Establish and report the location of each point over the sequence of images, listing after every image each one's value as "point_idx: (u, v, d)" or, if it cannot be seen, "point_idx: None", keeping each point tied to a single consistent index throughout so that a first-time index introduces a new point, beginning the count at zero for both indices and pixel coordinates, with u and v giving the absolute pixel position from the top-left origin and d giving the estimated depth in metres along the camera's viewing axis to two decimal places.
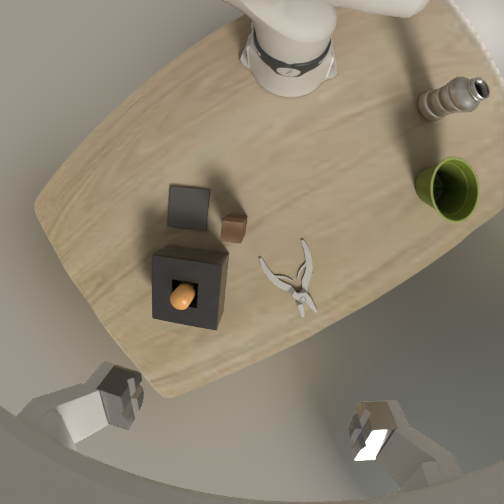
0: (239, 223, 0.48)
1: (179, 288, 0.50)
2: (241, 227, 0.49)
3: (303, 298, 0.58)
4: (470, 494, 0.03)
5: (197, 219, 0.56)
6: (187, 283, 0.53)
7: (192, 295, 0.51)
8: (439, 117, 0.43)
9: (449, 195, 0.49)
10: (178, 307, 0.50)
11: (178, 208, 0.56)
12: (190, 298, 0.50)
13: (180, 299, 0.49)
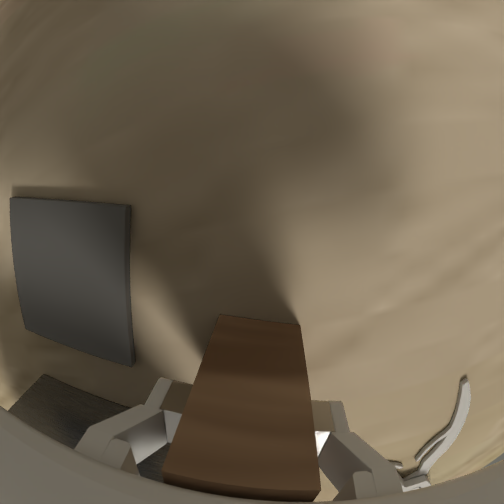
0: (292, 492, 0.05)
1: None
2: None
3: (415, 489, 0.14)
4: (470, 494, 0.03)
5: (96, 325, 0.13)
6: None
7: None
8: None
9: None
10: None
11: (36, 276, 0.12)
12: None
13: None
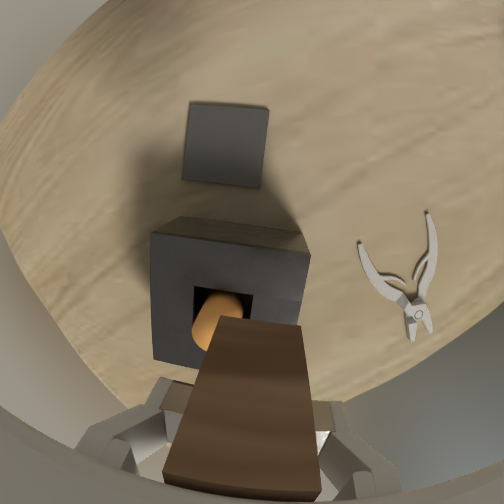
0: (293, 493, 0.05)
1: (212, 307, 0.22)
2: None
3: (419, 313, 0.30)
4: (470, 494, 0.03)
5: (243, 165, 0.28)
6: (227, 294, 0.25)
7: None
8: None
9: None
10: None
11: (205, 144, 0.28)
12: None
13: None
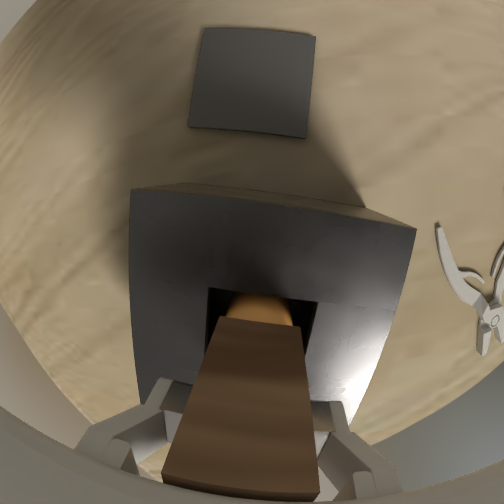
0: (292, 494, 0.05)
1: (251, 305, 0.13)
2: None
3: (496, 318, 0.19)
4: (470, 494, 0.03)
5: (281, 105, 0.18)
6: None
7: None
8: None
9: None
10: None
11: (225, 76, 0.17)
12: None
13: None
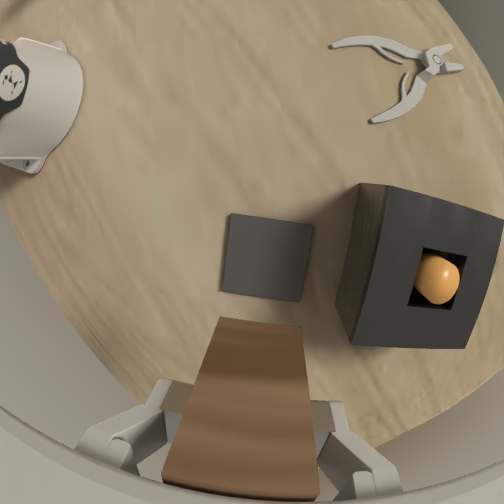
0: (292, 495, 0.05)
1: (419, 281, 0.21)
2: None
3: (435, 58, 0.21)
4: (470, 494, 0.03)
5: (289, 241, 0.28)
6: None
7: (433, 255, 0.21)
8: None
9: None
10: (454, 287, 0.20)
11: (264, 277, 0.29)
12: (440, 259, 0.20)
13: (441, 281, 0.20)
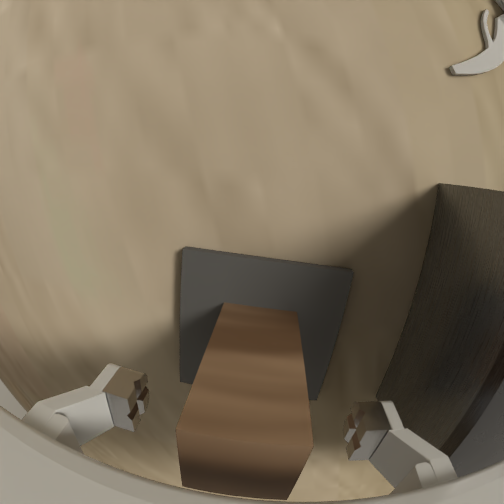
0: (289, 447, 0.06)
1: None
2: (299, 461, 0.06)
3: None
4: (470, 494, 0.03)
5: (304, 303, 0.14)
6: None
7: None
8: None
9: None
10: None
11: None
12: None
13: None
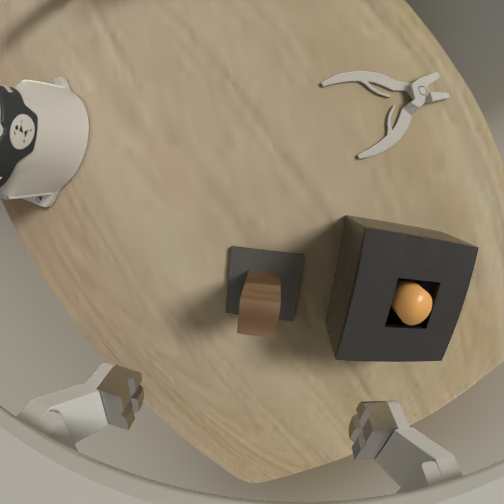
0: (273, 304, 0.25)
1: (395, 306, 0.25)
2: (277, 311, 0.25)
3: (421, 89, 0.25)
4: (470, 494, 0.03)
5: (283, 269, 0.32)
6: None
7: (409, 282, 0.25)
8: None
9: None
10: (427, 310, 0.24)
11: None
12: (415, 287, 0.24)
13: (415, 306, 0.24)
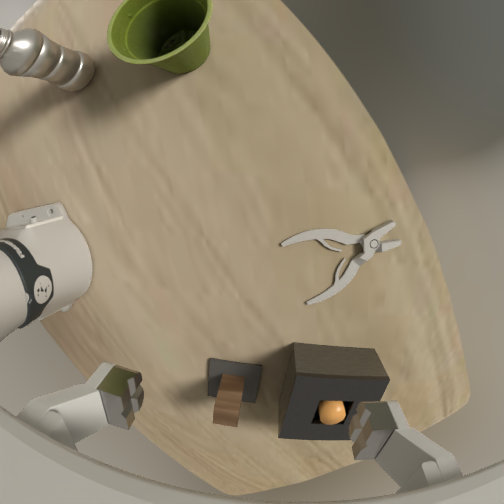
0: (235, 411, 0.35)
1: (319, 412, 0.36)
2: (237, 415, 0.35)
3: (372, 243, 0.35)
4: (470, 494, 0.03)
5: (246, 374, 0.43)
6: None
7: None
8: (81, 61, 0.28)
9: (191, 19, 0.28)
10: (342, 417, 0.34)
11: None
12: (333, 404, 0.35)
13: (331, 415, 0.34)
